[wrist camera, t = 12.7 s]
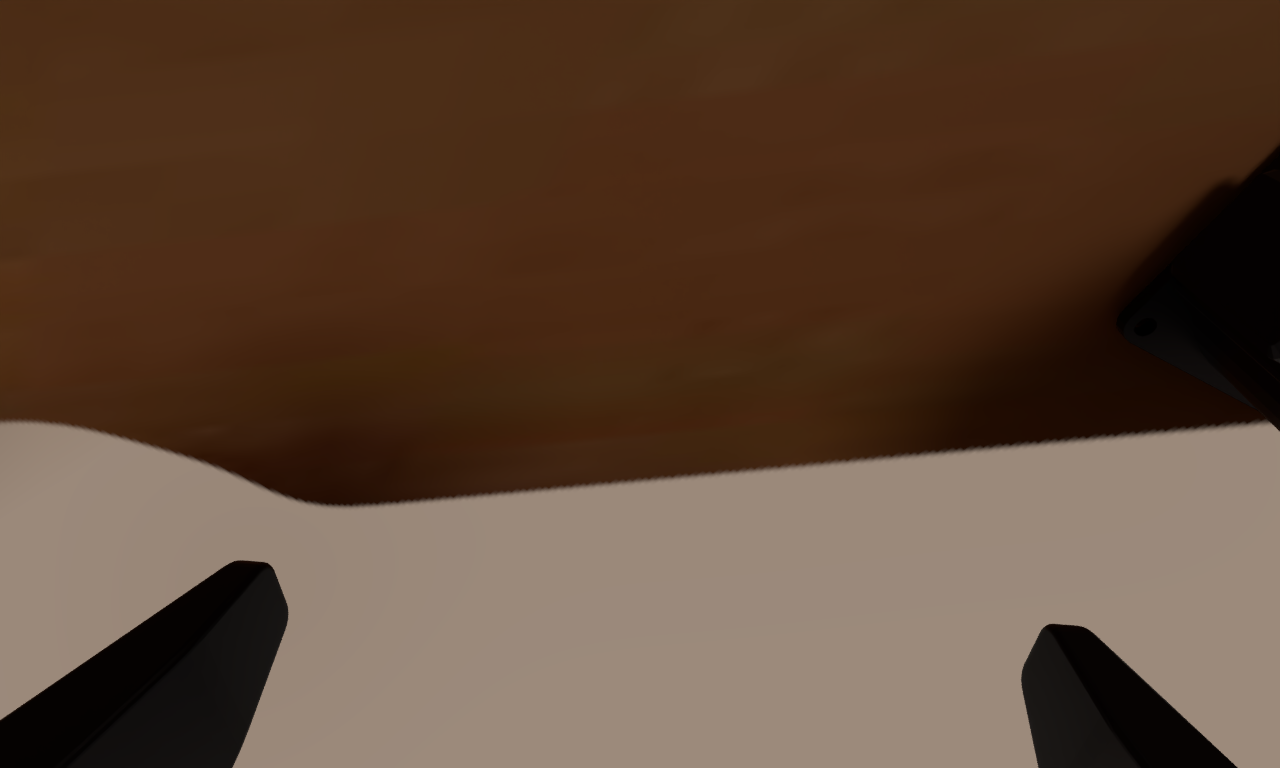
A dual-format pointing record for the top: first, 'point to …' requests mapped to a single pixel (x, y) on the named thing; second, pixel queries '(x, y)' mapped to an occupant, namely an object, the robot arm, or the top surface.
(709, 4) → the top surface
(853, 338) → the top surface
